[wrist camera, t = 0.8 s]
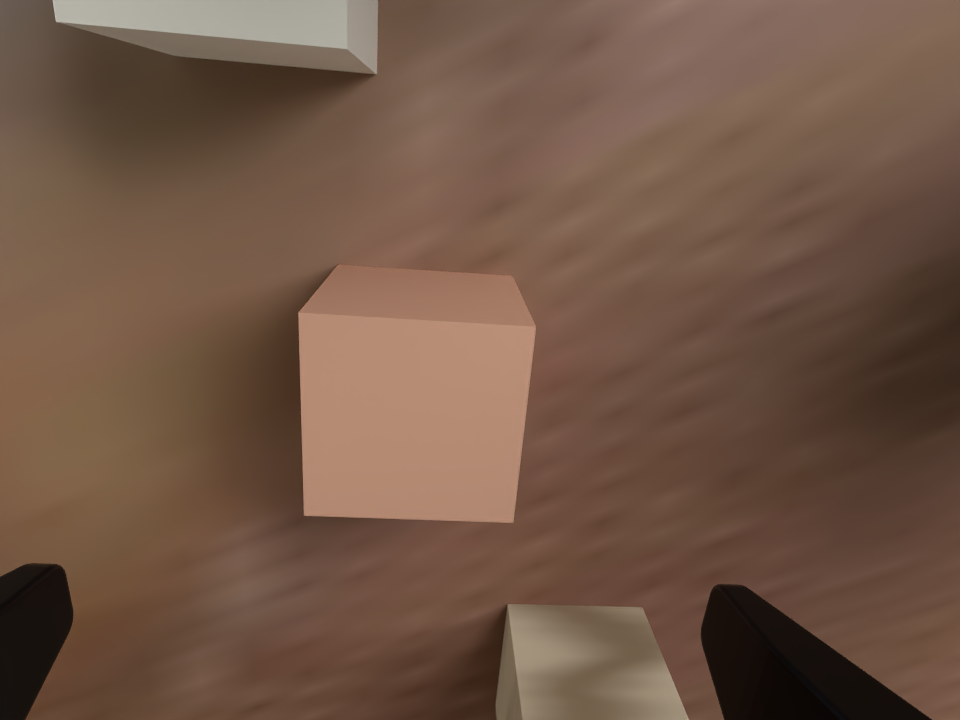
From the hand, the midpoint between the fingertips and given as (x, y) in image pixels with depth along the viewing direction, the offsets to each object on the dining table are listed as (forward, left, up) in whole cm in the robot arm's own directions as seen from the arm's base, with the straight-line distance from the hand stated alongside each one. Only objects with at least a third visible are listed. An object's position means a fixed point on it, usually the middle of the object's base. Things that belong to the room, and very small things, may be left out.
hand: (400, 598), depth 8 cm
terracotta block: (0, 0, -11) cm, 11 cm away
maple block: (-6, +12, -11) cm, 17 cm away
